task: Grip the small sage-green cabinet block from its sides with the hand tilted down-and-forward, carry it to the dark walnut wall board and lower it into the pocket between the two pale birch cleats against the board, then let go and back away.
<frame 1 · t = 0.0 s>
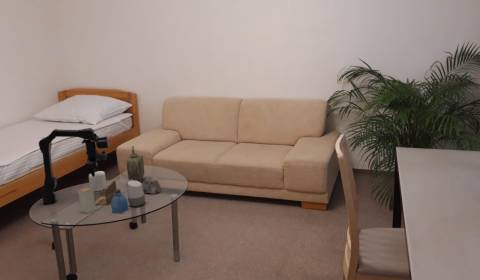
hand: (94, 174, 259), 15 cm above the table, tool pointing down, fingers open, 9 cm apart
perfume bottle: (120, 210, 239), on the table
photo printer: (99, 190, 275), on the table
smart speaker: (137, 205, 246), on the table
mineral rock: (150, 192, 266), on the table
cleat board: (104, 200, 256), on the table
cabinet block: (88, 210, 242), on the table
green spouted canister: (137, 182, 285), on the table
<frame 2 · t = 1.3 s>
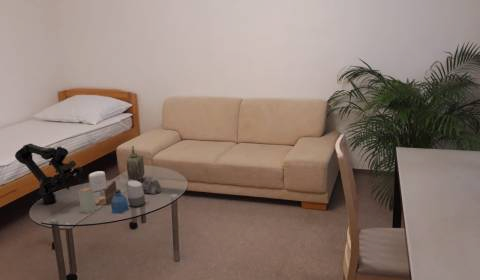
hand: (75, 186, 243), 13 cm above the table, tool tilted 45°, fingers open, 9 cm apart
nothing on the table moved.
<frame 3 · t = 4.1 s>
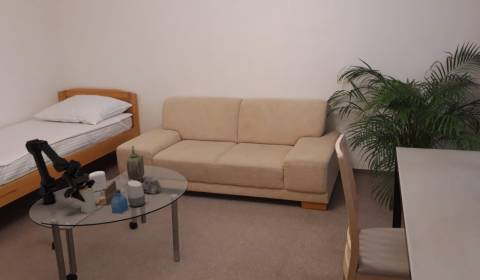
hand: (88, 199, 240), 7 cm above the table, tool tilted 45°, fingers closed on cabinet block, 5 cm apart
cabinet block: (88, 210, 242), on the table, touching gripper
everything else where it was.
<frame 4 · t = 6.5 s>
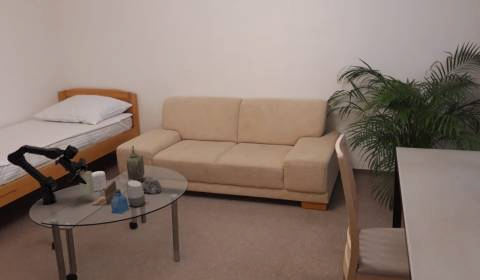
hand: (88, 182, 252), 12 cm above the table, tool tilted 45°, fingers closed on cabinet block, 5 cm apart
cabinet block: (87, 192, 254), point 6 cm above the table, touching gripper
everything else where it was.
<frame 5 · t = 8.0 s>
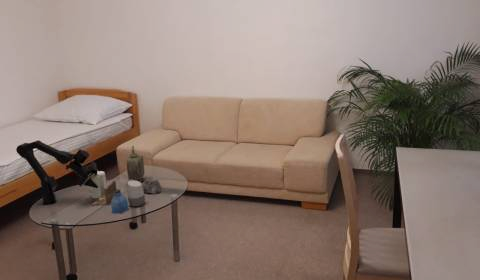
hand: (99, 185, 253), 9 cm above the table, tool tilted 45°, fingers closed on cabinet block, 5 cm apart
cabinet block: (98, 196, 255), point 3 cm above the table, touching gripper
everything else where it was.
when the fingers open (8 cm above the table, at t = 9.1 s): cabinet block stays where it is, resting on cleat board.
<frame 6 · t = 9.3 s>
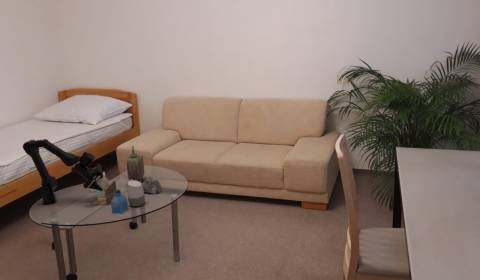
hand: (104, 188, 254), 8 cm above the table, tool tilted 45°, fingers open, 7 cm apart
cabinet block: (104, 199, 255), point 1 cm above the table, touching cleat board
everything else where it was.
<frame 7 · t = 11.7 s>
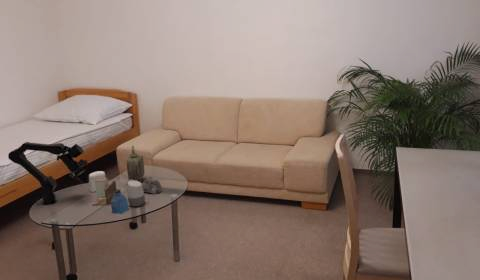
hand: (85, 182, 257), 11 cm above the table, tool tilted 30°, fingers open, 9 cm apart
nothing on the table moved.
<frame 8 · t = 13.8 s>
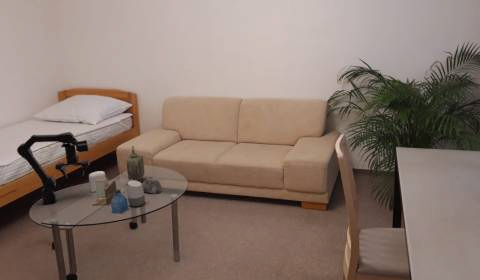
hand: (74, 178, 259), 13 cm above the table, tool pointing down, fingers open, 9 cm apart
nothing on the table moved.
at the end: cabinet block 0.1 cm from the cleat board (horizontally); cabinet block tilted 0°; cabinet block point 0.8 cm above the table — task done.
